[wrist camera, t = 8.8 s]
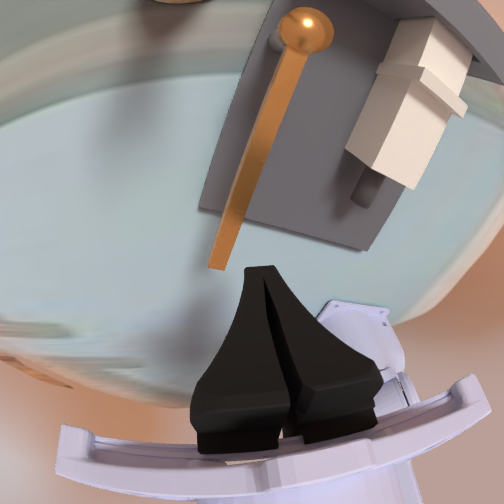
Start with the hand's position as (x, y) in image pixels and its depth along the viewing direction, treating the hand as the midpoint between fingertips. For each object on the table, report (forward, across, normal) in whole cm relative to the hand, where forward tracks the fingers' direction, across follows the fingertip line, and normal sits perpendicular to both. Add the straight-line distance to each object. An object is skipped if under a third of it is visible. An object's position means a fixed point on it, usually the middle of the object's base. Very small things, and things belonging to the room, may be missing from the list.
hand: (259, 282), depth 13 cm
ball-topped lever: (+4, 0, -5) cm, 7 cm away
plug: (+9, -11, -8) cm, 16 cm away
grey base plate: (+10, -9, -8) cm, 15 cm away
